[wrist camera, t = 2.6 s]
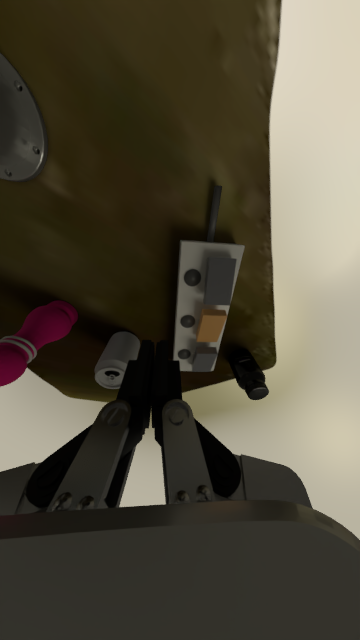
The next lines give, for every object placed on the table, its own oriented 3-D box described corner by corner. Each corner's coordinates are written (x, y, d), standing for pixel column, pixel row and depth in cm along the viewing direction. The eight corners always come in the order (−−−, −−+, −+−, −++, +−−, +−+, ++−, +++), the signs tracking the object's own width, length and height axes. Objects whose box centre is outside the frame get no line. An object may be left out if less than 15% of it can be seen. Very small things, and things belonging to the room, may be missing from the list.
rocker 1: (207, 257, 27) (209, 256, 26) (232, 259, 28) (236, 258, 26) (203, 302, 30) (205, 304, 28) (226, 303, 30) (230, 305, 28)
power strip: (183, 184, 25) (186, 176, 21) (247, 191, 26) (261, 185, 22) (172, 360, 45) (173, 372, 41) (209, 360, 46) (213, 372, 42)
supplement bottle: (241, 344, 44) (263, 380, 33) (254, 355, 46) (279, 392, 36) (222, 358, 46) (238, 396, 36) (236, 368, 49) (255, 406, 38)
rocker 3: (196, 346, 35) (197, 353, 34) (216, 347, 35) (217, 353, 34) (191, 365, 41) (192, 371, 39) (208, 365, 41) (209, 371, 40)
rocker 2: (202, 309, 30) (203, 315, 29) (225, 309, 31) (227, 316, 29) (195, 335, 36) (196, 341, 35) (215, 335, 36) (216, 342, 35)
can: (141, 331, 39) (131, 367, 29) (139, 353, 43) (130, 392, 33) (110, 327, 38) (88, 364, 28) (111, 351, 42) (92, 391, 32)
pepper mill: (62, 330, 38) (-27, 415, 21) (37, 305, 34) (-95, 383, 17) (87, 319, 37) (15, 399, 19) (64, 292, 33) (-48, 362, 16)
